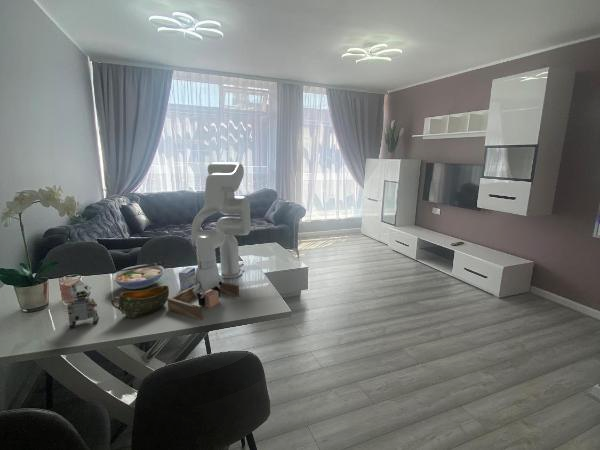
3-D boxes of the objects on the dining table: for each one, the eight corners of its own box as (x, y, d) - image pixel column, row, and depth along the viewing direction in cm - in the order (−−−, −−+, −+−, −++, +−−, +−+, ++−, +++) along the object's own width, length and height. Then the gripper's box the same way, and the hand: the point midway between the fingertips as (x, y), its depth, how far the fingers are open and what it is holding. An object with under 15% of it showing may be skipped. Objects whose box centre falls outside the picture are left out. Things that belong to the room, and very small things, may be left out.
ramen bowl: (111, 301, 142) (109, 284, 140) (111, 283, 161) (109, 268, 159) (171, 289, 154) (169, 273, 152) (164, 274, 173) (162, 259, 171)
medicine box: (188, 290, 153) (186, 273, 151) (179, 289, 154) (178, 272, 152) (196, 283, 161) (195, 267, 159) (188, 282, 162) (187, 266, 160)
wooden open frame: (209, 288, 155) (208, 278, 154) (239, 295, 147) (238, 285, 146) (168, 309, 134) (167, 298, 133) (200, 320, 126) (199, 308, 125)
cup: (120, 307, 136) (117, 285, 134) (170, 301, 142) (168, 280, 139) (112, 323, 124) (109, 299, 122) (168, 316, 130) (166, 293, 127)
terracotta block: (209, 300, 143) (208, 288, 142) (219, 302, 140) (218, 291, 139) (200, 305, 138) (199, 293, 137) (210, 308, 136) (209, 296, 134)
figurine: (101, 312, 132) (96, 278, 128) (96, 326, 121) (90, 290, 118) (75, 317, 128) (69, 282, 125) (67, 331, 118) (60, 294, 115)
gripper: (214, 256, 144) (216, 291, 148) (184, 268, 129) (188, 307, 133) (227, 258, 141) (229, 295, 145) (198, 271, 126) (201, 311, 130)
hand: (209, 300), depth 139 cm, fingers open, 8 cm apart
